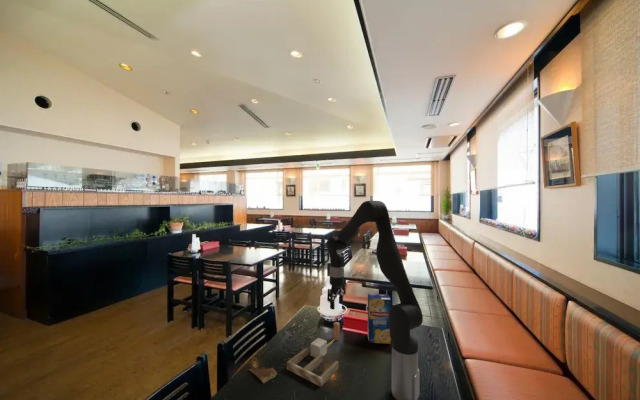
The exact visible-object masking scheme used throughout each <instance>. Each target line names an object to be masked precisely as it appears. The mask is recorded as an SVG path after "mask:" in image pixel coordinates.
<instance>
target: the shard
mask: <svg viewBox="0 0 640 400" xmlns="http://www.w3.org/2000/svg"><path fill="white" fill-rule="evenodd" d="M248 369H249V372H250V373H252V374H253V375H254V376H256V377H257V378H258V379H259V380H260V382H262V384H265V383H267V382H268V381H270V380H272V379H274V378H276V376H277V371H276V370H275V369H274V367H249V368H248Z"/></svg>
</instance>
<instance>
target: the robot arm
mask: <svg viewBox="0 0 640 400" xmlns="http://www.w3.org/2000/svg"><path fill="white" fill-rule="evenodd" d="M366 223H375V226H376V227H377V232H378V238H377V244H376V249H375V254H376V260H377V262H378V266H379V269H380V272H381V273H382V274H383V276H384V277H385V278H386V279H387V280H388V281H389V283H391V285H392V287H394V289H395V291H396V293H397V296H398V300H399V303H397V304H394V305H391V309H390V312H389V329H390V338H391V395H392V397H394V398H395V400H418V399H419V397H420V389H421V388H420V380H421V379H420V377H421V376H420V368H419V343H418V341H417V339H416V338H415V337H413V336H411V330H414V329H416V328H418V327H420V326H421V325H422V324H423V321H424V320H423V319H424V318H423V316H424V315H423V312H422V309H421V306H420V304H419V301H418V300H417V297H416V295H415V291H414V290H413V288H412V285H411V282H410V279H409V278H408V274H407V272H406V269H405V266H404V263H403V259H402V257H401V253H400V250H399V247H398V246H397V242H396V238H395V234H394V231H393V228H392V224H391V220H390V214H389V211H388V207H387V206H386V204H385V202H383V201H381V200H365V201H364V202H362V203H361V204H360V205H359V207H358V208H357V209H356V211H355V213H354V214H353V215H352V216H351V218H350V220H349V221H348V222H347V223H346V224H345V226H344V227H342V228H341V229H340V230H339V232H338V234H337V236H336V235H334V236H330V237H328V238H327V240H326V246H327V250H328V254H329V285H330V287H331V288H327V299H326V300H327V302H329V308H330V310H335V303H336V299H337V298H338V304H339V305H343V304H344V296H345V295H346V283H345V267H344V266H345V264H344V262H345V261H344V255H342V254H340V253H338V252H337V251H340V250H341V251H342V250H344V249H346V248H347V247H348V246H349V244H350V242H351V241H352V240H353V239H354V238H356V236H357V235H358V234H359V232H360V227H361V226H362V225H364V224H366Z"/></svg>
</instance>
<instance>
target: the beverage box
mask: <svg viewBox="0 0 640 400" xmlns="http://www.w3.org/2000/svg"><path fill="white" fill-rule="evenodd" d="M391 307H392V299H391V297H390V295H389V294H380V293H379V294H378V293H377V294H376V293H375V294H374V293H367V338H368V343H369V342H370V343H369V344H371V343H373V344H389V345H392V341H391V338H390V329H389V312H390V309H391Z"/></svg>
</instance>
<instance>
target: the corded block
mask: <svg viewBox="0 0 640 400" xmlns="http://www.w3.org/2000/svg"><path fill="white" fill-rule="evenodd" d="M340 327H341V326H340V322H339V321H334V322H333V339H332V340H330V341H329V342H328V341H327V340H326V339H322V338H320V337H317V338H316V339H315V340H313V341H312V342H311V343H310V356H311V357H313V358H314V359H315V358H316V357H317V356H318V355H320V354H322V355H323V357H324V356H325V355H326V354H327V353H328V348H329V347H330V346H331V345H333V344H334V343H335V342H336V341H335V340H338V341H340ZM334 341H335V342H334ZM333 342H334V343H333Z"/></svg>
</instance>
